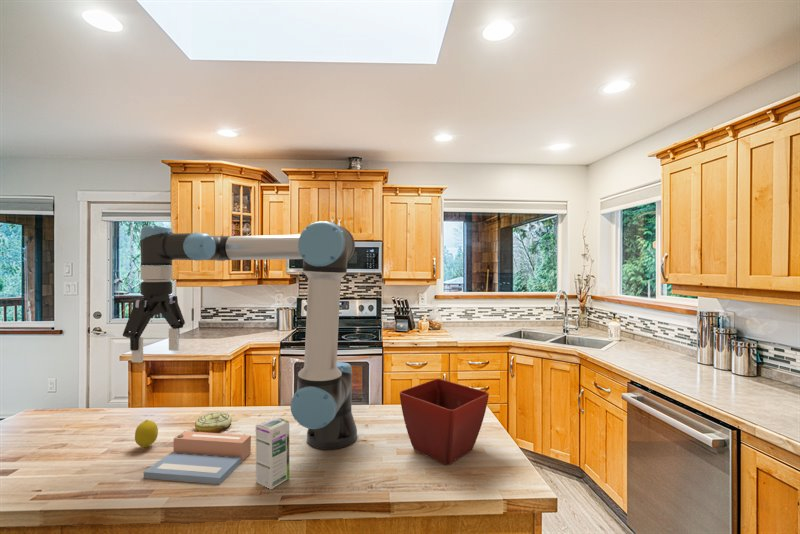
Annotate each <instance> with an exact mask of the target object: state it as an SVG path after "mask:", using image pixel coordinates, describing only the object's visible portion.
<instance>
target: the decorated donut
mask: <svg viewBox="0 0 800 534" xmlns="http://www.w3.org/2000/svg"><path fill="white" fill-rule="evenodd" d="M232 419H233V417H232V415H231V414H230V413H228V412H220V411H217V412H211V413H206V414H204V415H201V416H199V417H198V418H196V420H195V422H194V428H195V430H196V432H206V433H219V432H221V431H224V430H225V429H228V428H229V427H230V426H231V424H232Z"/></svg>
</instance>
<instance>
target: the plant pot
mask: <svg viewBox="0 0 800 534" xmlns="http://www.w3.org/2000/svg"><path fill="white" fill-rule="evenodd" d="M489 396H490V394H489V392H486V391H484V390H480V389H476V388H474V387H473V388H472V387H470V386H468V385H462V384H460V383H459V384H458V383H456V382H452V381H448V380H445V379H441V378H435V379H432V380H430V381H429V380H428V381H425V382H424V383H421V384H419V385H418V384H417V385H415V386H413V387H409V388H407V389H403V390H401V391H399V400H400V405H401V412H402V416H403V420H404V424H405V428H406V431H407V435H408V438H409V440H410V443H411V446H412V449H413V450H414V451H416V452H417V453H420V454H422V455H424V456H427V457H428V458H430V459H432V460H435V461H437V462H439V463H441V464H443V465H446V466H447V465H448V466H449V465H451V464H452V463H454V462H456V461H458V460H459V459H461V458H462V457H464V456H465V455H467V454H468V453H470V452H472V450H473V449H474V447H475V444H476V442H477V439H478V437H479V434H480V431H481V429H482V425H483V421H484V418H485V414H486V410H487V407H488V402H489V401H488V400H489Z"/></svg>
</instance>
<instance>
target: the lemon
mask: <svg viewBox="0 0 800 534" xmlns="http://www.w3.org/2000/svg"><path fill="white" fill-rule="evenodd" d="M158 434H159V428H158V425H157V423H156V422H154V421H152V420H149V419H145V420H144V421H142V422H141V423H139V424H138V425H137V426H136V429H135V432H134V440H135V441H134V442H135V443H136V444H137V445H138V446H140V447H143V448H144V449H148V447H150V446H151V445H152V444H154V443H155V441H156V440H157V438H158Z"/></svg>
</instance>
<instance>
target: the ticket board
mask: <svg viewBox="0 0 800 534" xmlns="http://www.w3.org/2000/svg"><path fill="white" fill-rule="evenodd" d="M241 463H242V461H241V457H237V456H223V455H209V454H194V453H180V452H173V451H172V452H170V453H168V454H167V455H166V456H164V457H162V458H161V459H160V460H158V461H157V462H156V463H154V464H152V465H151V466H150V467H149V468H147V469H146V470H145V471H143V479H150V480H151V479H152V480H164V481H173V482H174V481H176V482H177V481H178V482H187V483H189V482H190V483H200V484H201V483H202V484H212V485H220V484H221V483H223V482H224V480H226V479H227V477H229V476H230V474H232V472H233V471H234V470H236V469H237V468H238V467H239V465H241Z"/></svg>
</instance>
